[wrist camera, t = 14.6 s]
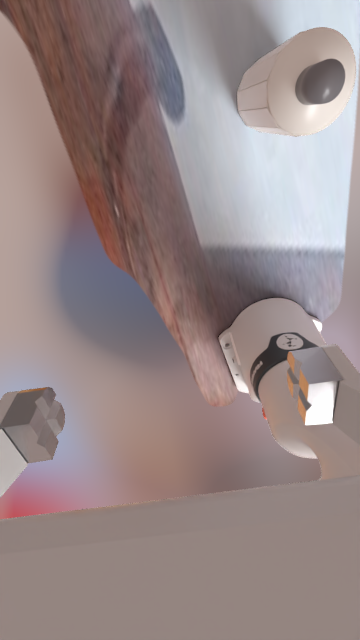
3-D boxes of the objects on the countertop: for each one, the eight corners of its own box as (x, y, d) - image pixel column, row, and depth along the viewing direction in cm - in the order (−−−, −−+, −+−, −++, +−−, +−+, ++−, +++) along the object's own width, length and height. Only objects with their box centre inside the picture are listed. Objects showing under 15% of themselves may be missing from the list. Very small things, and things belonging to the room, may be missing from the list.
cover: (295, 125, 40) (367, 128, 26) (239, 135, 41) (278, 144, 26) (298, 51, 36) (384, 6, 22) (235, 64, 37) (279, 28, 22)
